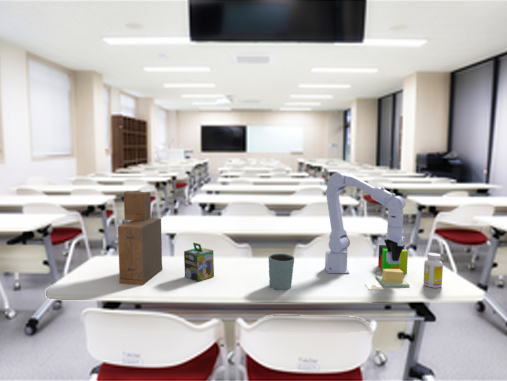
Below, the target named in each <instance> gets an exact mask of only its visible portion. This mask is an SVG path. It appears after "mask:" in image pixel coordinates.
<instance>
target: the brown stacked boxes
mask: <svg viewBox="0 0 507 381" xmlns="http://www.w3.org/2000/svg"><path fill="white" fill-rule="evenodd" d="M123 206H124V207H123V209H124V210H123V211H124V212H123V213H124V221H128V222H126V223H124V224H120V225H117V236H118V237H117V239H118V244H117V245H118V267H119V268H118V269H119V270H118V271H119V273H118V274H119V279H118V282H119V284H121V285H123V284H124V285H139V286H144V285H146V284H147V283H148V282H149V281H150V280H152V279H153V278H154V277H155V276H157V275H158V274H159V273H161V272H162V271H163V253H162V252H163V251H162V250H163V247H162V244H163V242H162V240H163V238H162V218H157V217H156V218H152V214H151V213H152V211H151V192H150V191H127V192H123Z"/></svg>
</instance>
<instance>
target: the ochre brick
mask: <svg viewBox="0 0 507 381" xmlns="http://www.w3.org/2000/svg"><path fill="white" fill-rule="evenodd" d="M381 274H382V275H381V276H382V279H383V280H384V281H385V282H403V279H404V273H403V271H401V270H400V269H383V271H382V273H381Z"/></svg>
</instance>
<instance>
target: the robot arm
mask: <svg viewBox="0 0 507 381" xmlns="http://www.w3.org/2000/svg"><path fill="white" fill-rule="evenodd" d="M347 187H355V188H357V189H358V190H360V191H363V192H365V193H367V194H369V195H370V198H371V199H372V200H373V201H375V202H378V203H379V204H381V205H383V206H384V207H386V209H387V210H388V211H387V212H388V215H387V227H386V228H387V229H386V230H387V231H386V232H385V238H386V239H384V240H383V241H384V245H386V247H387V251H388V252H392V260H393V261H398V260H399V257H400V254H401V252H402V250H403V248H405V247H406V245H405V241H404V240H405V239H406V237H405V236H404V235H403V226H404V225H403V224H404V208H405V206H406V201H405V200H406V199H405V198H404V197H403V196H401V195H396V193H394V192H392V193H391V191H388V190H386V189H385V187H384V186H376V187H374V186H372V185H371V184H370V183H368V182H367V181H365V180H362V179H361V178H359V177H358V176H357V175H354V174H352V173H349V172H347V171H343V172H334V173H333V174H332V175H331V176H330V177H329V178H328V183H327V187H326V189H325V194H326V202H327V207H328V208H327V210H328V216H329V221H330V222H329V223H330V229H331V231H330V234H329V242H328V249H329V251H325V257H324V260H325V261H324V264H325V265H324V269H325V270H326V272H327V274H350V271H349V270H348V248H349V247H350V245H351V240H350V238H349V236H348V233H347V231H346V230H345V228H344V223H343V222H344V221H343V215H342V209H341V201H340V193H341V192H342V191H343V190H344V189H345V188H347Z"/></svg>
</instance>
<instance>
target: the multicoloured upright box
mask: <svg viewBox="0 0 507 381" xmlns="http://www.w3.org/2000/svg"><path fill="white" fill-rule="evenodd" d="M192 244H193V247H194V248H191V249H188V250H184V252H183V254H184V255H183V260H184V262H183V265H184V278H186V279H189V280H192V281H194V282H197V283H199V282H202V281H205V280H208V279H210V278H212V277H213V278H214V277H215V263H214V262H215V261H214V250H213V249H209V248H205V247H202V245H201V243H196V242H193V243H192Z"/></svg>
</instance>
